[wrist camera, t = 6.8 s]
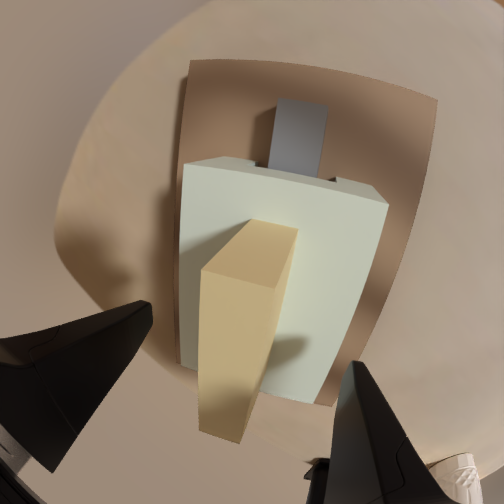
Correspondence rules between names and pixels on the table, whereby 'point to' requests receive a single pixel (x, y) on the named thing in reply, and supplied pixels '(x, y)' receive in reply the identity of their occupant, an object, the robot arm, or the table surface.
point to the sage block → (267, 282)
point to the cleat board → (351, 153)
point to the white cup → (459, 478)
